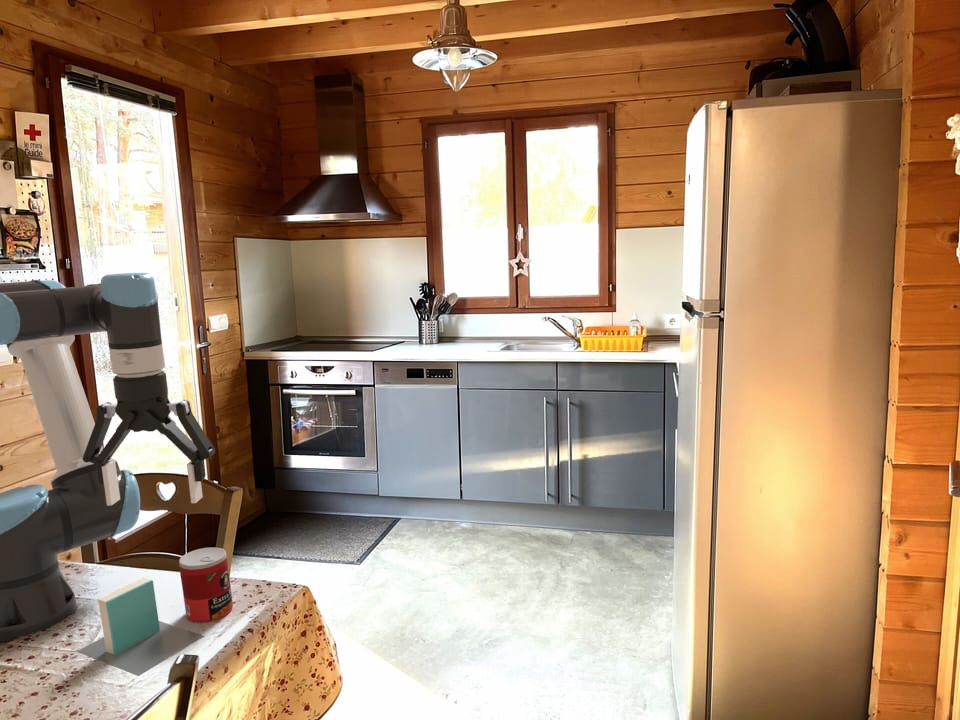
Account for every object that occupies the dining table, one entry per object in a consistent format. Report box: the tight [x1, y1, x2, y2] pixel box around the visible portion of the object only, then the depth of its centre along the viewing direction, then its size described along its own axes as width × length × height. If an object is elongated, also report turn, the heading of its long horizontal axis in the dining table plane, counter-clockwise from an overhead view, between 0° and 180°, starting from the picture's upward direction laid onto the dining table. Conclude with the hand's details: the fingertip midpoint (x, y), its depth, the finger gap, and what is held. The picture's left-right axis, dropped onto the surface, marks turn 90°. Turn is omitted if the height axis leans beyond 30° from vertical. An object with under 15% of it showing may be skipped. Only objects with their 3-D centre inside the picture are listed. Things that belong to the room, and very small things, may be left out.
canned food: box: [178, 546, 234, 624], centre depth 124 cm, size 8×8×11 cm
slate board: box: [76, 620, 205, 677], centre depth 116 cm, size 16×12×1 cm
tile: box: [97, 577, 160, 655], centre depth 116 cm, size 2×8×9 cm, turn 150°
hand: (155, 501), depth 115 cm, fingers open, 13 cm apart
